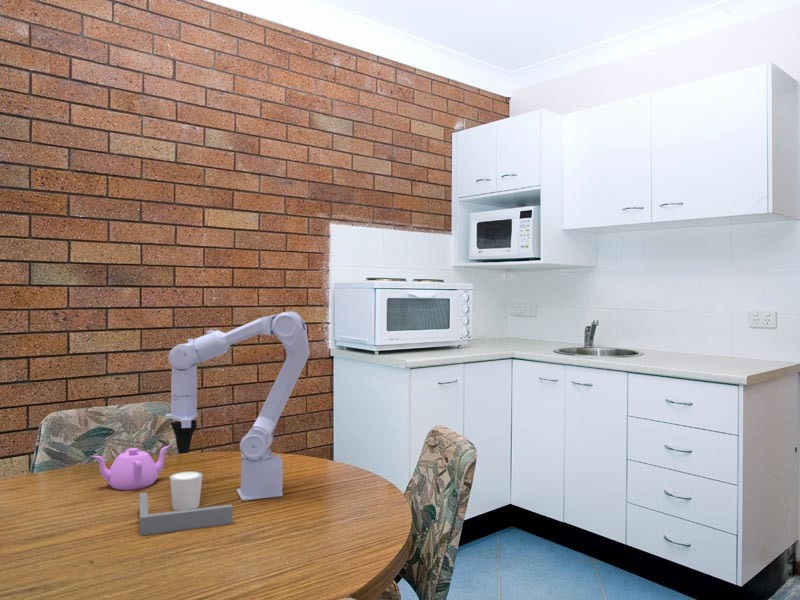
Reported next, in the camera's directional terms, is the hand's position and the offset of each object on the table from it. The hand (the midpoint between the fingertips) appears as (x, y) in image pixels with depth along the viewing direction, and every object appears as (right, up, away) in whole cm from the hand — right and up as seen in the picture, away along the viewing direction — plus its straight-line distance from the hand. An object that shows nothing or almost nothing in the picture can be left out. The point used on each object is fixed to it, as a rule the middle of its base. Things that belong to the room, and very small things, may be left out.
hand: (183, 452), depth 143 cm
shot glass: (+3, -10, -8) cm, 13 cm away
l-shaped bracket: (+6, -10, -14) cm, 18 cm away
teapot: (-15, -10, +8) cm, 20 cm away
